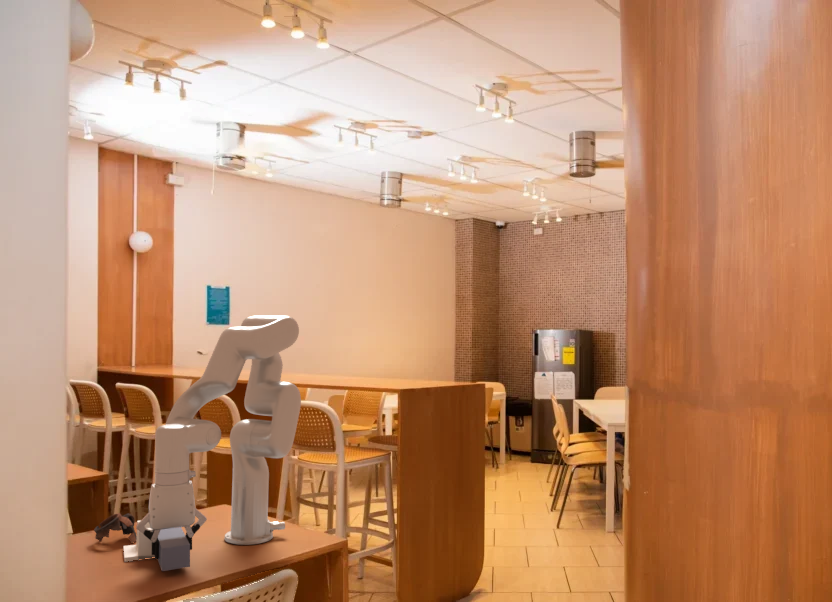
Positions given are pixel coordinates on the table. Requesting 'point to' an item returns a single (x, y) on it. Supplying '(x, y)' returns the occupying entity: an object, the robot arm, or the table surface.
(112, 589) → the table surface
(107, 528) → the pottery mug
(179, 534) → the blue-grey rectangular block
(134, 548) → the display stand
